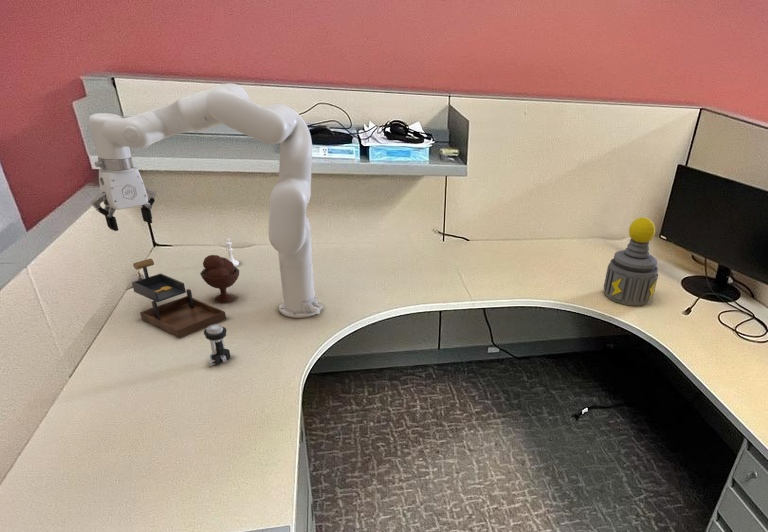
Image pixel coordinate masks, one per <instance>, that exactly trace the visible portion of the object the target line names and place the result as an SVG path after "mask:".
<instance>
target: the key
mask: <svg viewBox="0 0 768 532" xmlns="http://www.w3.org/2000/svg"><path fill="white" fill-rule="evenodd" d="M170 289H172V288H171V287H169V286H165V287H162V288H160V290H156V292H157V293H158V292H161V291H163V290H164V291H167V290H170Z"/></svg>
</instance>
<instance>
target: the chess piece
mask: <svg viewBox="0 0 768 532" xmlns="http://www.w3.org/2000/svg"><path fill="white" fill-rule="evenodd" d="M224 240H225V243H224V244H225V245H226V247H227V248H226V251H227V253H228V255H227V256H228V258H227V259H228V260H229V261H231V262H232V263H233V264H234V267H237V266H239V265H240V261H239V260H238V259H235V258H234V255H233V253H232V251H233V250H234V249H233V248H232V242H231V241H232V239H231V238H230V237H228V236H227V237H226V238H225V239H224Z"/></svg>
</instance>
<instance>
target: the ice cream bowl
mask: <svg viewBox="0 0 768 532" xmlns="http://www.w3.org/2000/svg"><path fill="white" fill-rule="evenodd" d="M228 259H229V258H227V257H223V256H220V255H218V254H210V255H207V256H205V257H204V259H203V261H202V266H203V269H202V270H201V272H199V274H200V276H201V278H202V279H203V281H204V282H205V283H206V284H207V285H209V287H212V288H214V289H218V290H219V292H220V294H218V295H217V296H216V297H214V298H215V299H214V301H215V302H216V303H221V304H226V303H227V304H228V303H231V302H233V301H234V299H235V296H233V295H232V294H230V293H228V292H227V289H228V288H230V287H233V285H234V284H235V283H236V282H237V280H238V279H239V276H240V269H238V267H237V266H234V264H233V263H232V262H231V261H229V260H228Z"/></svg>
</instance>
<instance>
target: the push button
mask: <svg viewBox="0 0 768 532" xmlns="http://www.w3.org/2000/svg"><path fill="white" fill-rule="evenodd" d="M227 330H228V329H227V328H226V327H224V326H222V325H221V324H218V323H215V324H213V325H210V326H208V327H206V328H204V330H203V335H204V336H205V339H206V340H208V341H209V343H210V348H211V353H210V355H209V358H210V360H209V361H207V364H208V367H212V366H214V365H216V366H218V365H220V364H221V363H225V362H227V360H229V359H231V351H230V349H228V348H226V346H225V345H226V344H225V341H224V339H225V337H227V332H228V331H227Z"/></svg>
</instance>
